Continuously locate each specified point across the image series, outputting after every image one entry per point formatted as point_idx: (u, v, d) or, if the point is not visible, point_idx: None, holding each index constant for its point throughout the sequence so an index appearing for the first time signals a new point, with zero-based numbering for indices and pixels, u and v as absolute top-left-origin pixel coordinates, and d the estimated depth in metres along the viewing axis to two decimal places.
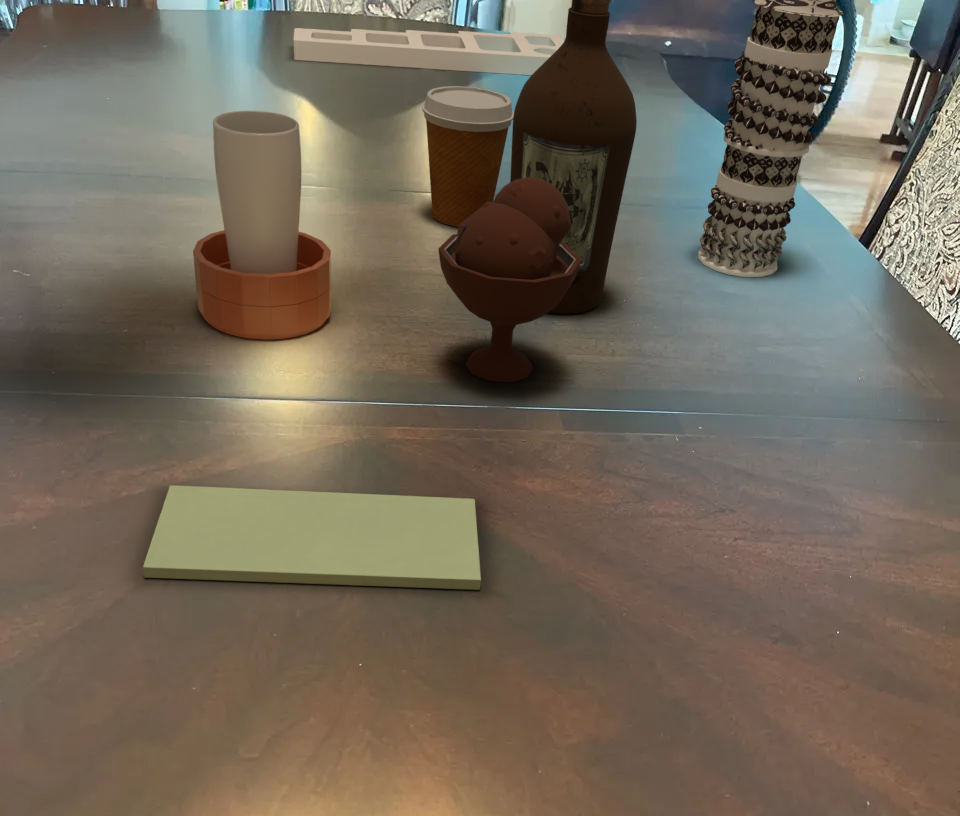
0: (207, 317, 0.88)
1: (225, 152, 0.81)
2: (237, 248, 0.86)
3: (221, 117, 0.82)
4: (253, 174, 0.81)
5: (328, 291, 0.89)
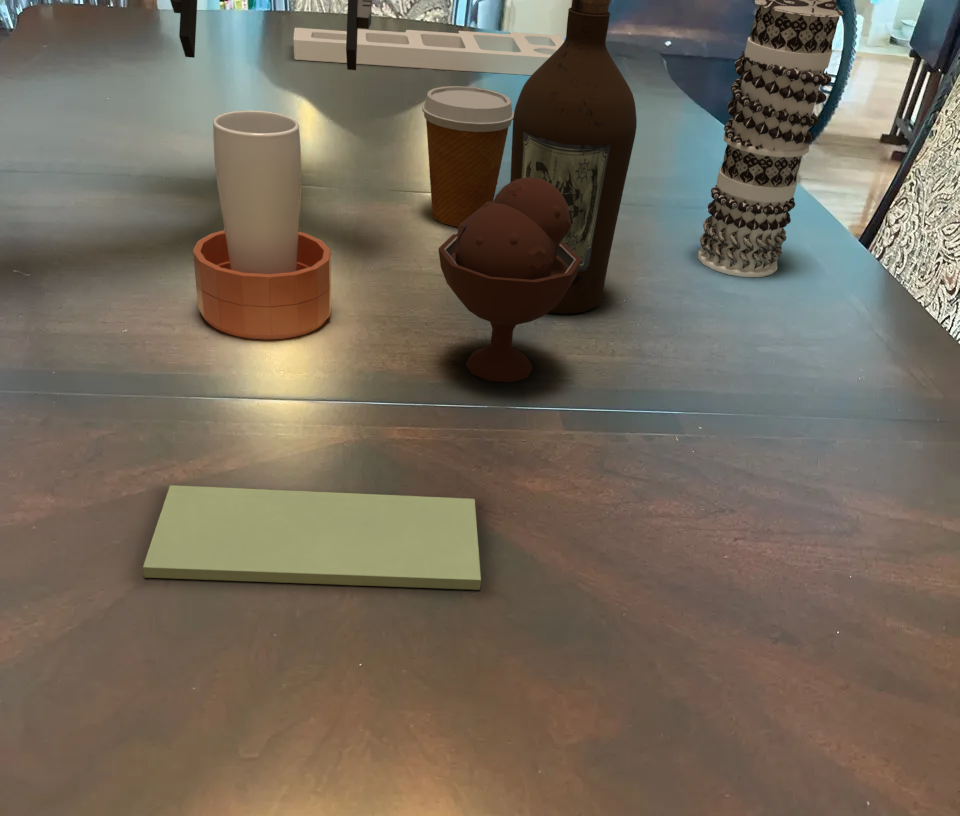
0: (207, 317, 0.88)
1: (225, 152, 0.81)
2: (237, 248, 0.86)
3: (221, 117, 0.82)
4: (253, 174, 0.81)
5: (328, 291, 0.89)
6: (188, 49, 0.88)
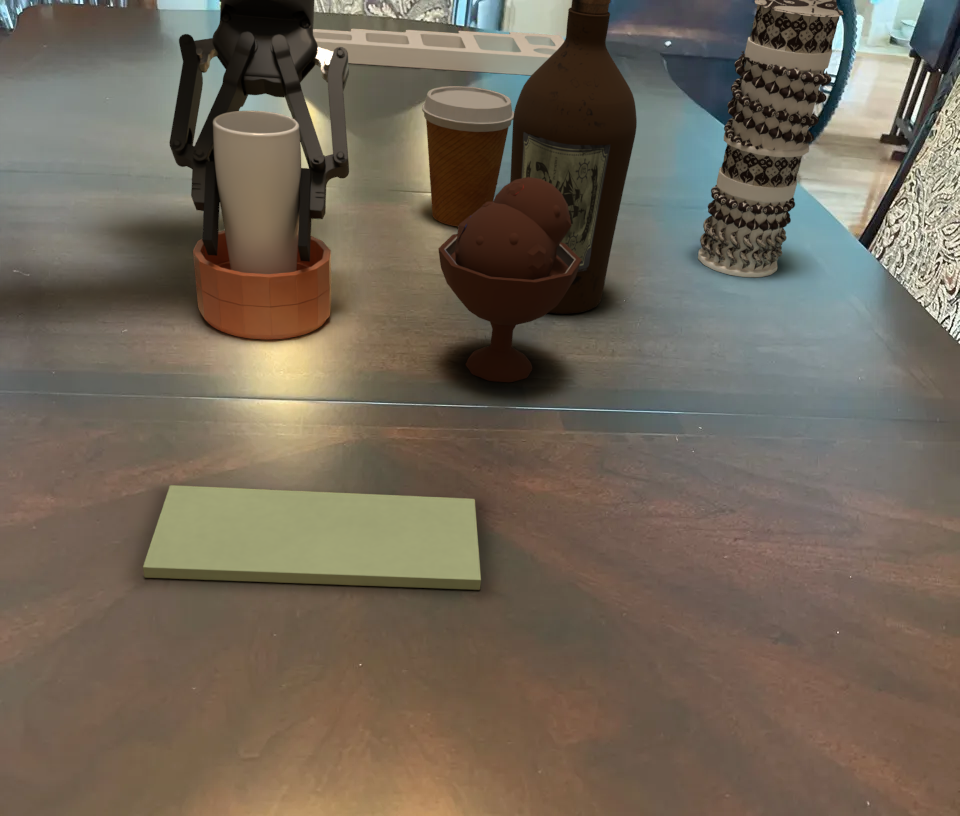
0: (207, 317, 0.88)
1: (225, 152, 0.81)
2: (237, 248, 0.86)
3: (221, 117, 0.82)
4: (253, 174, 0.81)
5: (328, 291, 0.89)
6: (211, 249, 0.85)
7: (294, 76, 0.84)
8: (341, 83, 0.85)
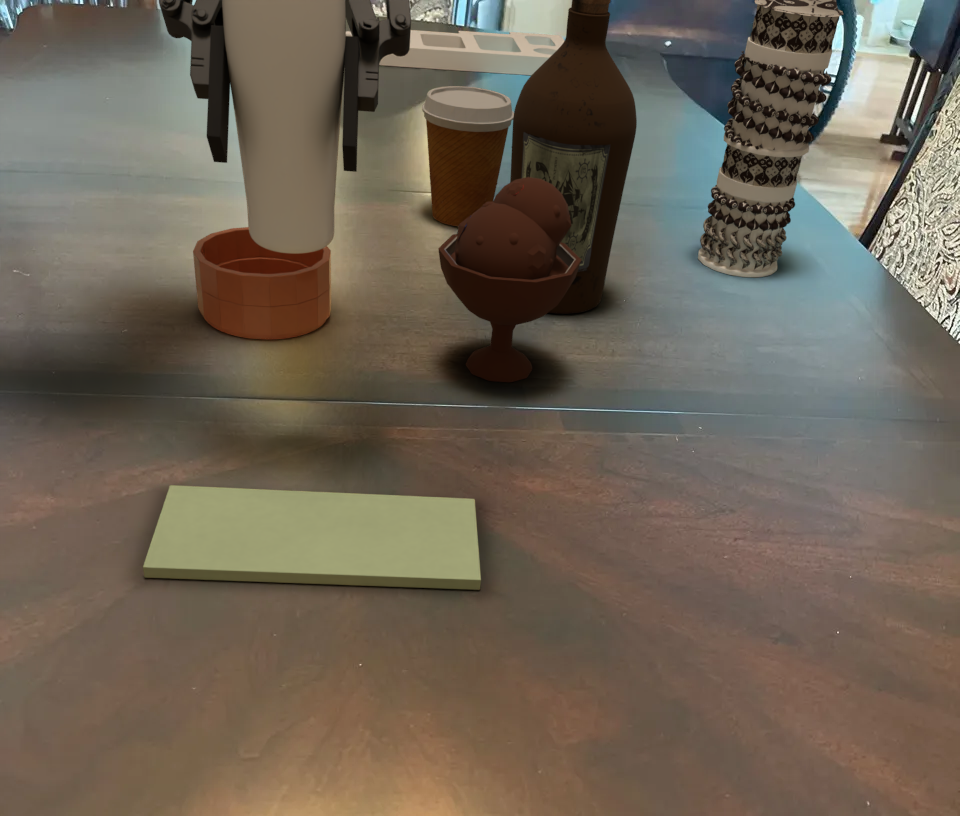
0: (207, 317, 0.88)
1: (239, 5, 0.56)
2: (255, 152, 0.61)
3: None
4: (280, 38, 0.56)
5: (328, 291, 0.89)
6: (219, 152, 0.60)
7: None
8: None
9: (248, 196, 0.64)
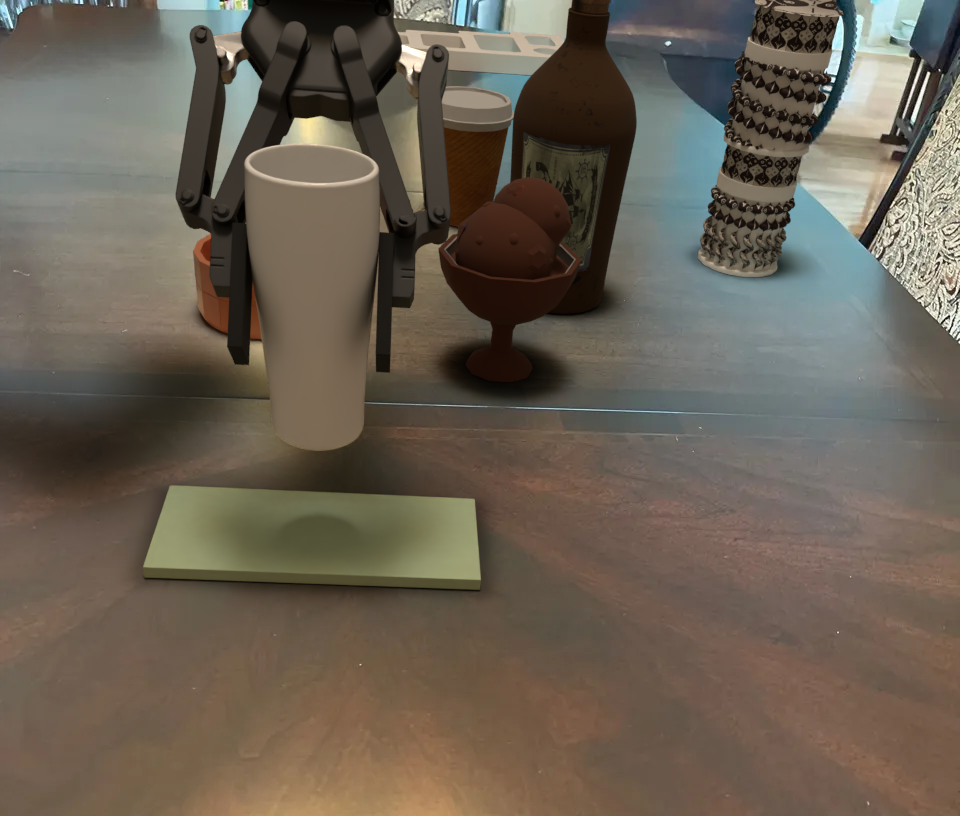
0: (207, 317, 0.88)
1: (264, 212, 0.51)
2: (279, 354, 0.56)
3: (257, 154, 0.53)
4: (308, 246, 0.51)
5: None
6: (240, 358, 0.55)
7: (368, 90, 0.55)
8: (439, 100, 0.55)
9: (271, 393, 0.58)
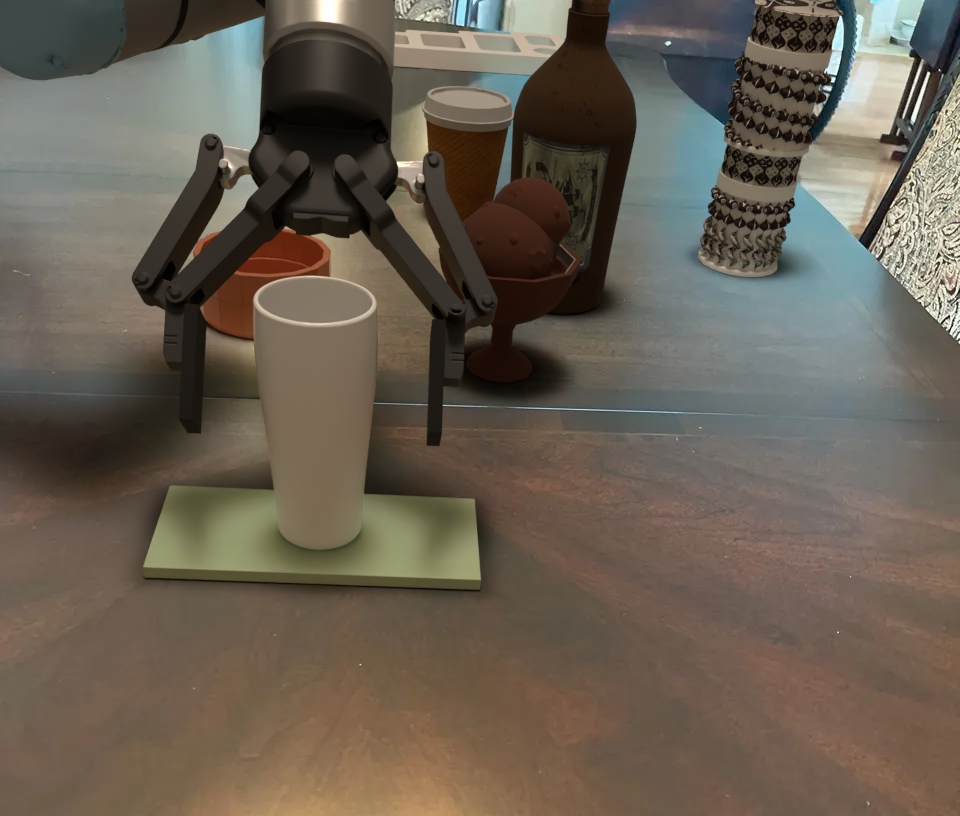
0: (207, 317, 0.88)
1: (271, 346, 0.55)
2: (285, 467, 0.60)
3: (264, 289, 0.57)
4: (312, 377, 0.56)
5: None
6: (192, 428, 0.59)
7: (382, 205, 0.59)
8: (450, 201, 0.60)
9: (277, 498, 0.63)
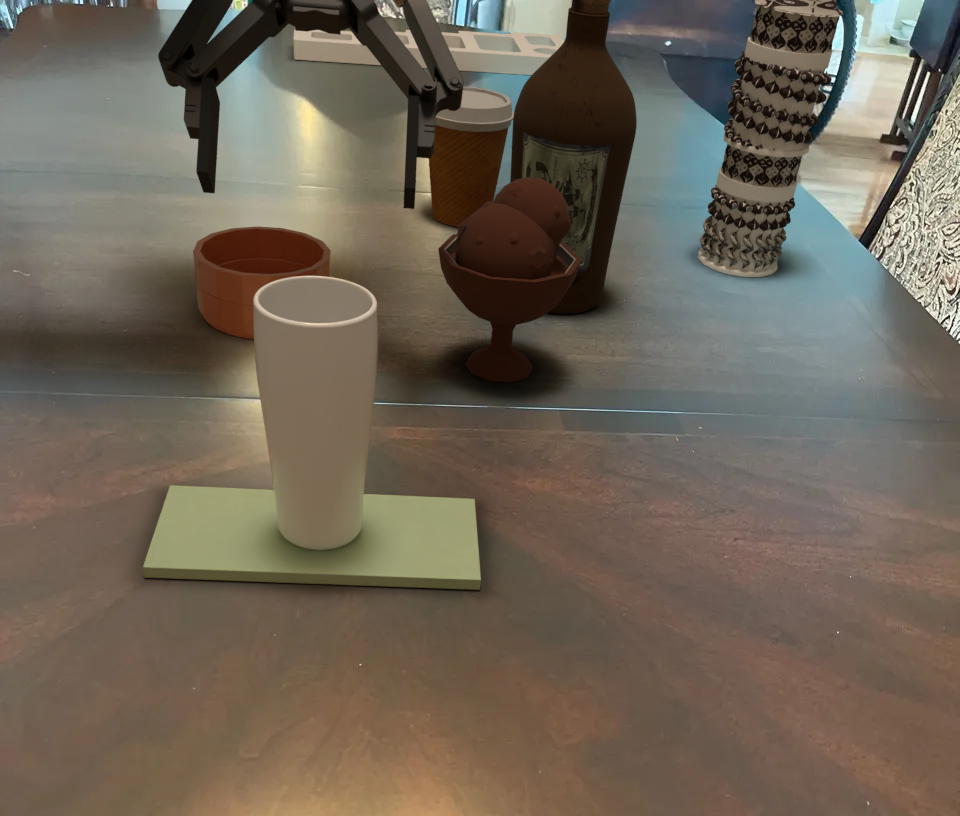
0: (207, 317, 0.88)
1: (272, 347, 0.55)
2: (285, 467, 0.60)
3: (264, 289, 0.57)
4: (312, 377, 0.56)
5: None
6: (207, 185, 0.70)
7: None
8: None
9: (277, 498, 0.63)
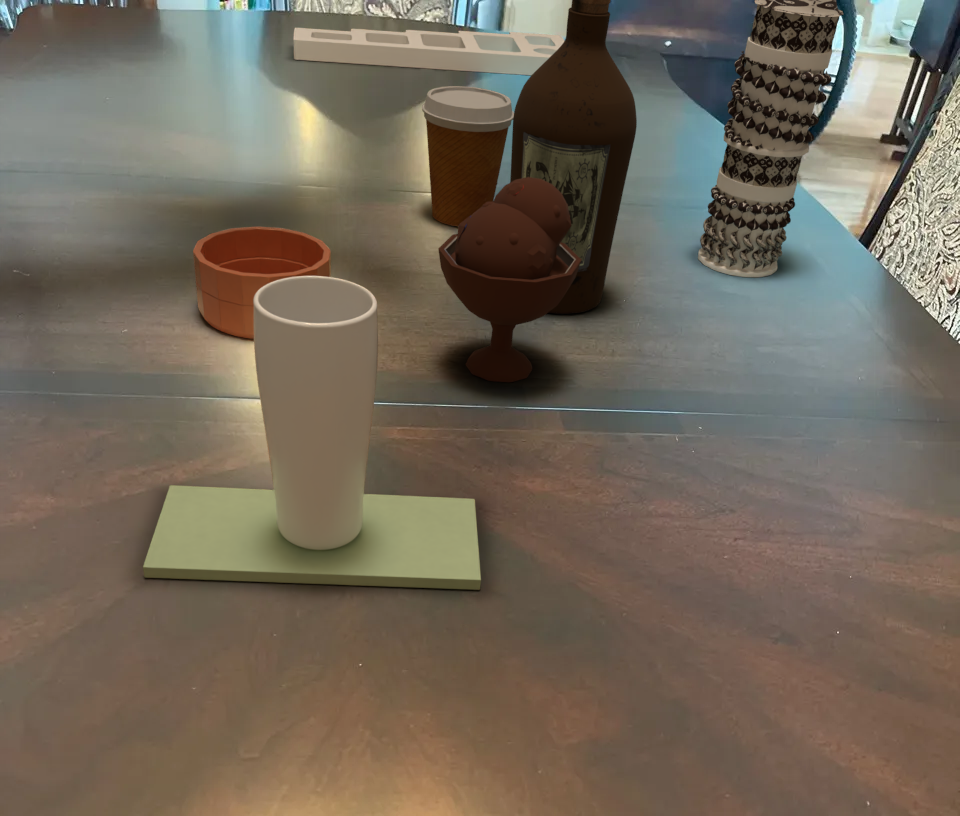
0: (207, 317, 0.88)
1: (272, 347, 0.55)
2: (285, 467, 0.60)
3: (264, 289, 0.57)
4: (312, 377, 0.56)
5: None
6: None
7: None
8: None
9: (277, 498, 0.63)
